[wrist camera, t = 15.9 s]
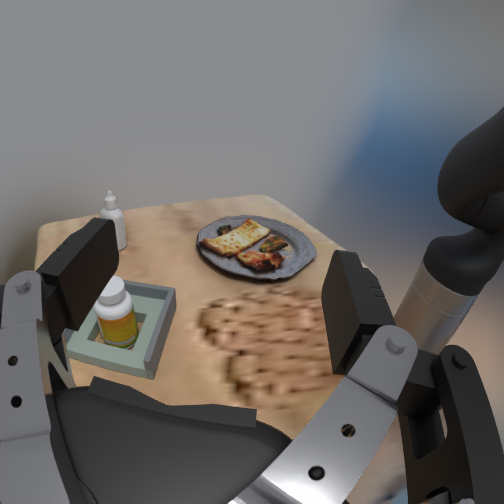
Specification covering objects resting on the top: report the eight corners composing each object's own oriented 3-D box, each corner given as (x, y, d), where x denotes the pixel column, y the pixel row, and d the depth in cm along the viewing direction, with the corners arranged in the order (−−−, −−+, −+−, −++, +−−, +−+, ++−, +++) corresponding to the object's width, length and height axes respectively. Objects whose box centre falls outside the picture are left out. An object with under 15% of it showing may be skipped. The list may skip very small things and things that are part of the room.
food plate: (264, 304, 48) (267, 287, 46) (173, 247, 59) (173, 232, 58) (328, 253, 66) (332, 239, 64) (249, 216, 77) (250, 204, 76)
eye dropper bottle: (121, 236, 60) (117, 185, 54) (128, 249, 56) (123, 194, 50) (103, 241, 58) (97, 188, 51) (108, 254, 54) (101, 198, 48)
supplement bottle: (145, 342, 38) (137, 290, 33) (112, 357, 35) (96, 306, 30) (129, 318, 41) (119, 267, 36) (98, 332, 38) (83, 280, 33)
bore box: (153, 379, 33) (149, 361, 31) (64, 356, 33) (55, 337, 31) (176, 307, 45) (175, 288, 43) (100, 294, 44) (95, 275, 42)
